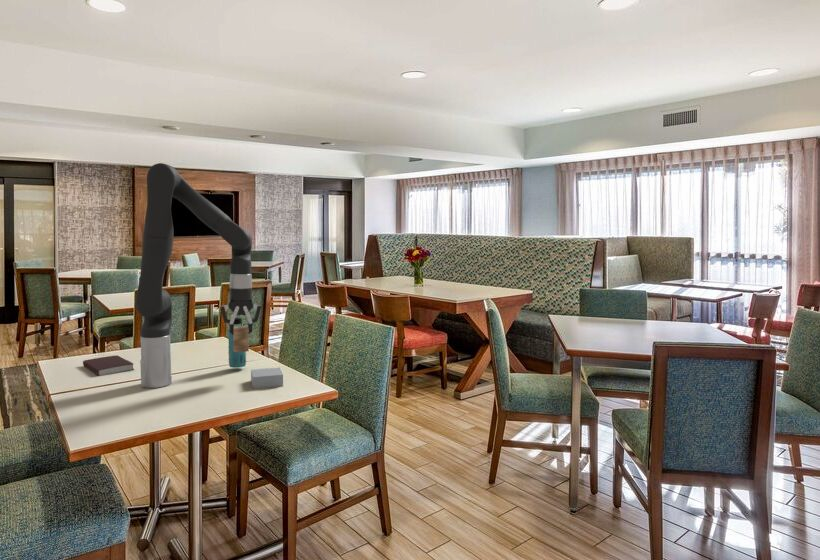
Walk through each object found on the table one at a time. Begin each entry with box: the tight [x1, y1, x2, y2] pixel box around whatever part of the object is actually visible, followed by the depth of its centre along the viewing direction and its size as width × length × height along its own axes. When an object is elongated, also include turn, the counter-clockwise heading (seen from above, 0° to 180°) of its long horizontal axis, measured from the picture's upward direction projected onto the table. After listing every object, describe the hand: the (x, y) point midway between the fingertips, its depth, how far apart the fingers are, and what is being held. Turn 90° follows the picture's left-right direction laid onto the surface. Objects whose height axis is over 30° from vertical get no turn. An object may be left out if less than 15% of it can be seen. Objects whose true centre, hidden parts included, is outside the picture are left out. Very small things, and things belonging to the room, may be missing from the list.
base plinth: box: [250, 367, 284, 389], centre depth 190 cm, size 10×10×4 cm
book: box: [82, 355, 135, 377], centre depth 207 cm, size 13×19×3 cm, turn 45°
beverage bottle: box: [227, 317, 247, 369], centre depth 206 cm, size 6×7×20 cm
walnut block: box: [233, 325, 250, 352], centre depth 191 cm, size 5×5×8 cm
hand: (240, 333), depth 191 cm, fingers closed on walnut block, 5 cm apart
